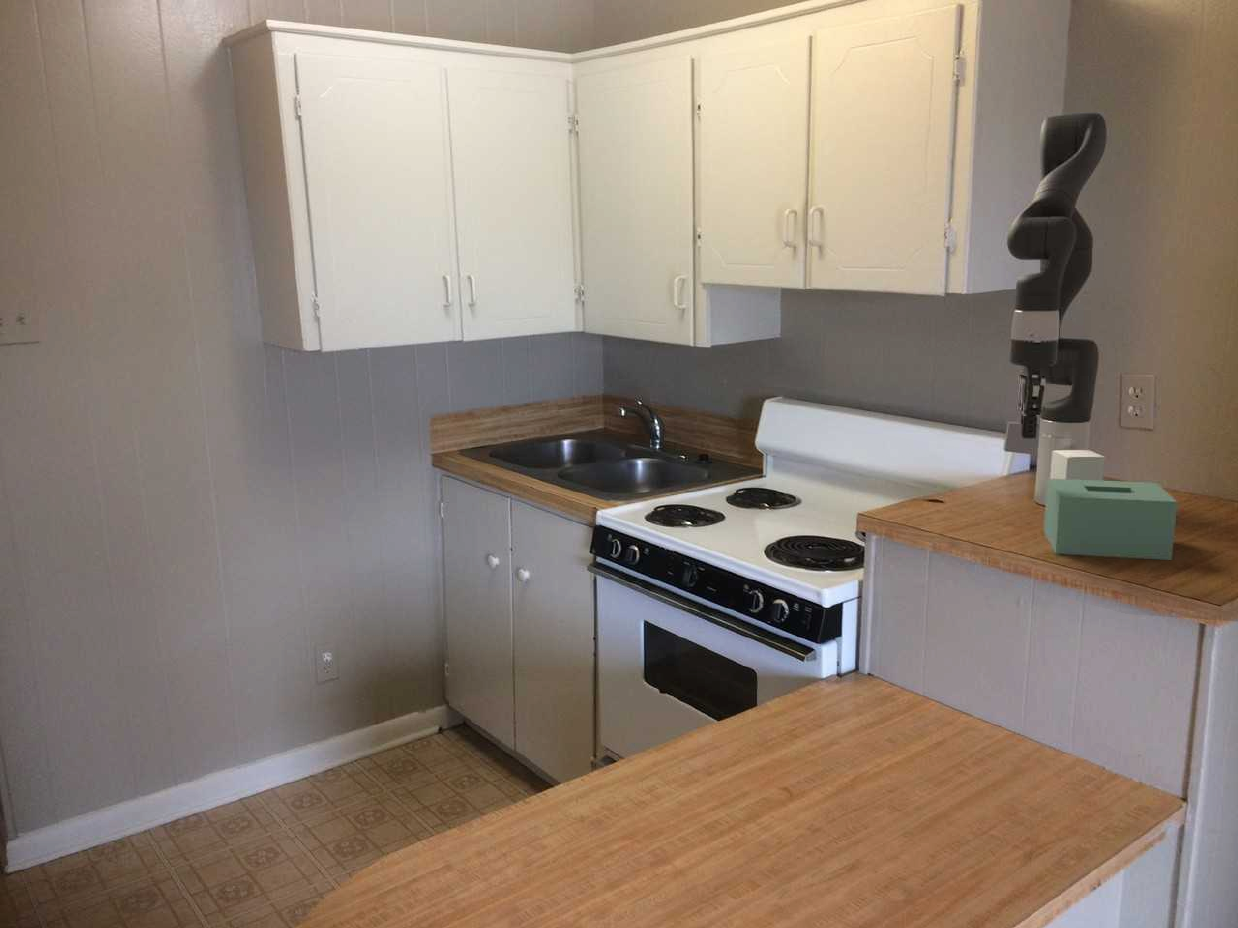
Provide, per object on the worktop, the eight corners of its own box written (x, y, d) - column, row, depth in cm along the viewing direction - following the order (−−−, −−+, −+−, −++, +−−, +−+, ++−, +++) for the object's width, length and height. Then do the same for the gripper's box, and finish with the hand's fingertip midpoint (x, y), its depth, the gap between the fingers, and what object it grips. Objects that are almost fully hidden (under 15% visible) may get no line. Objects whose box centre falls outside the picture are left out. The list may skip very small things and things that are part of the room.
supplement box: (1101, 522, 195) (1106, 456, 192) (1061, 522, 195) (1066, 457, 192) (1084, 512, 202) (1089, 449, 199) (1046, 512, 202) (1051, 449, 200)
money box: (1043, 531, 189) (1047, 478, 187) (1150, 537, 184) (1156, 482, 182) (1055, 553, 176) (1060, 496, 173) (1171, 560, 171) (1177, 501, 169)
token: (1003, 448, 182) (1007, 420, 181) (1033, 451, 181) (1037, 424, 180) (1004, 451, 180) (1009, 423, 179) (1035, 454, 179) (1039, 426, 178)
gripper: (1007, 333, 183) (1001, 428, 187) (1015, 340, 170) (1008, 443, 174) (1052, 333, 182) (1045, 430, 185) (1064, 341, 168) (1056, 444, 172)
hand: (1027, 436), depth 180 cm, fingers closed on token, 2 cm apart
